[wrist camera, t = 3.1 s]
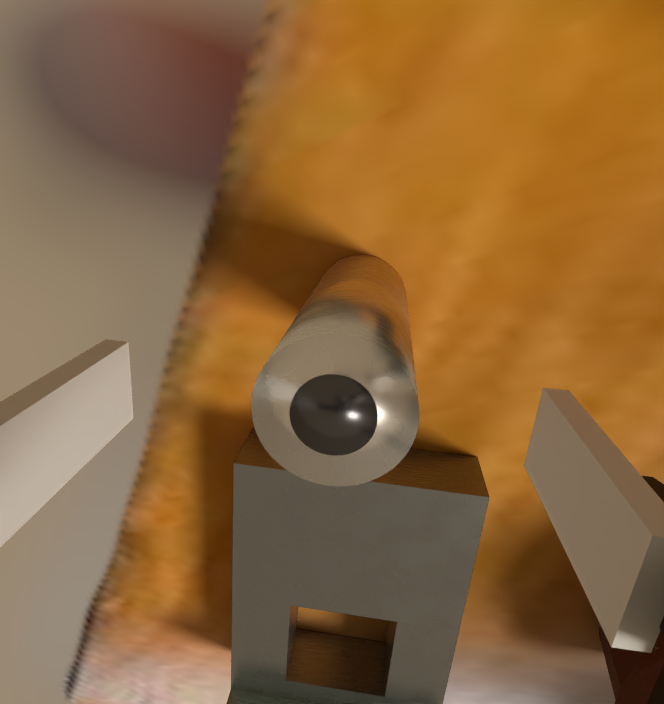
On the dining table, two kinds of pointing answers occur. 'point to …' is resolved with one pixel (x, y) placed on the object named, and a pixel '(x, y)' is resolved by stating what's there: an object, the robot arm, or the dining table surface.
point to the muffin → (633, 670)
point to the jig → (351, 578)
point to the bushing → (342, 379)
